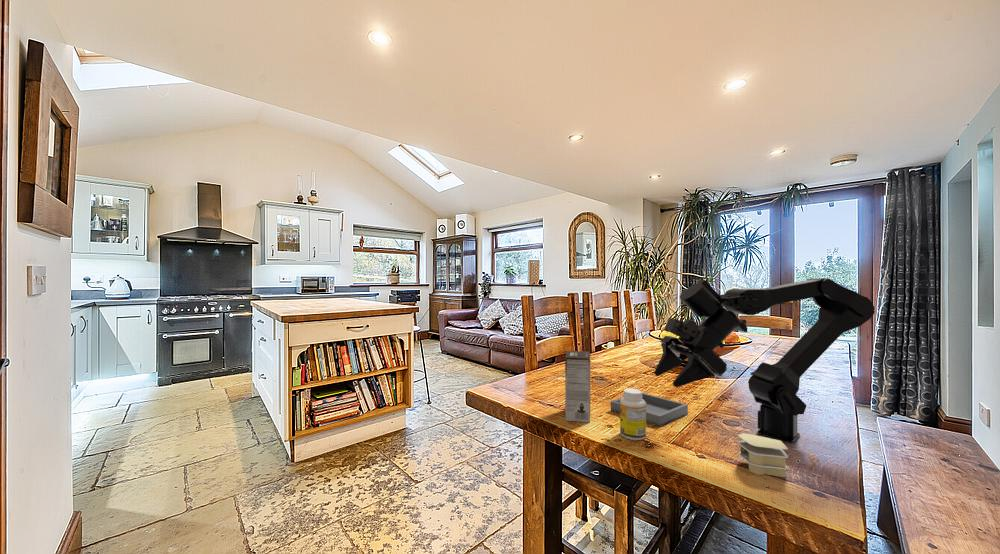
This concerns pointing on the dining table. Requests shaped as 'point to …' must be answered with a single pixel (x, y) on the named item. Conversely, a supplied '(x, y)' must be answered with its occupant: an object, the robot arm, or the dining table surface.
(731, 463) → the dining table surface
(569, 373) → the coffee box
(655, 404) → the tray
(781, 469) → the stacked layers on plate
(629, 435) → the supplement bottle
